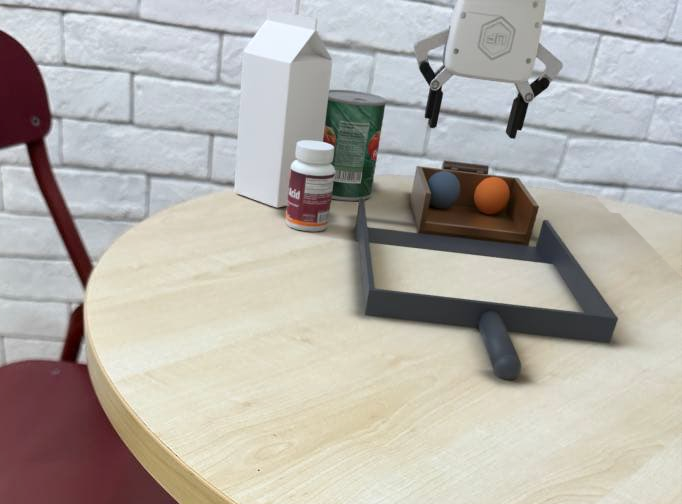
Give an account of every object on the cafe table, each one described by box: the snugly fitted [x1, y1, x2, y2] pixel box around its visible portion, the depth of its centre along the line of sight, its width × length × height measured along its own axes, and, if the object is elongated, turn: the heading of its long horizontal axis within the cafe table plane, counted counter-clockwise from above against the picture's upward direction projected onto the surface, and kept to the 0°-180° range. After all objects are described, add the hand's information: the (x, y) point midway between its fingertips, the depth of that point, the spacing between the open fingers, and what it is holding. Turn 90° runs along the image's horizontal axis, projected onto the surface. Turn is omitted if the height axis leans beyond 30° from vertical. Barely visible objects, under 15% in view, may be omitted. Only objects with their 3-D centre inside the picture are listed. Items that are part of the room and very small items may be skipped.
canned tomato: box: [323, 89, 387, 202], centre depth 104 cm, size 8×8×11 cm
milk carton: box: [233, 8, 333, 208], centre depth 96 cm, size 7×7×19 cm
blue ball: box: [427, 171, 460, 209], centre depth 102 cm, size 4×4×4 cm
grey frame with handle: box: [354, 198, 619, 381], centre depth 79 cm, size 38×21×3 cm, turn 177°
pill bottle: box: [284, 140, 335, 233], centre depth 92 cm, size 5×5×8 cm
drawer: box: [409, 159, 540, 246], centre depth 101 cm, size 13×16×5 cm
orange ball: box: [474, 177, 510, 215], centre depth 102 cm, size 4×4×4 cm
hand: (471, 131), depth 103 cm, fingers open, 9 cm apart
